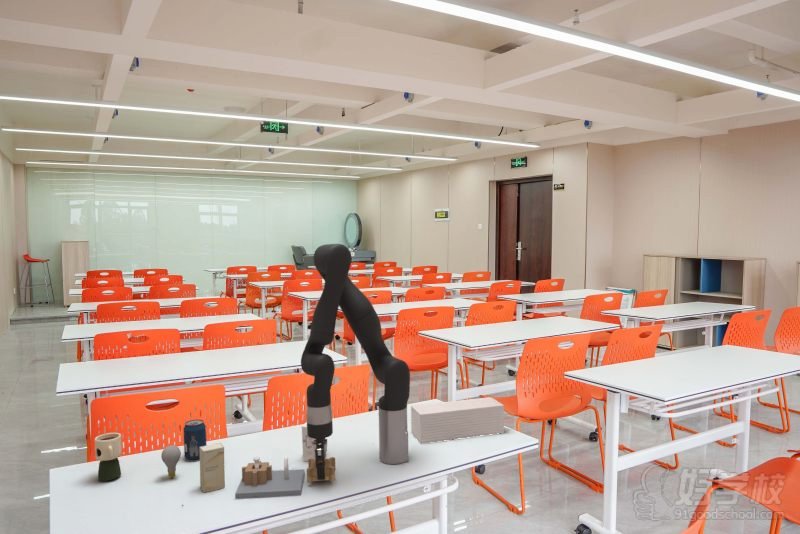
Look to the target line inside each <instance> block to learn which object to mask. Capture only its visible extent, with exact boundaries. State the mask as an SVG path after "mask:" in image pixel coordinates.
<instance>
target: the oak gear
mask: <svg viewBox="0 0 800 534" xmlns="http://www.w3.org/2000/svg"><path fill="white" fill-rule="evenodd" d="M318 463H323V461H318ZM315 465H316V459H311V458H310V459H308V462H307V466H308V467H307V468H306V483H308V484H311V483H313V482H319V481H321V482H322V481H331V482H335V481H336V470H337V469H336V457H334V456H331V457H329V458H325V479H324V480H318V479H317V468H316V467H315Z"/></svg>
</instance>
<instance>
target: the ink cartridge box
mask: <svg viewBox="0 0 800 534" xmlns="http://www.w3.org/2000/svg"><path fill="white" fill-rule="evenodd" d="M301 435H302V436H301V437H302V438H301V439H302V441H301V442H302V461H303V462H307V463H308V459H310V458H311V459H315V458H314V448H313V443H314V440H316V439H314V438H310V437H309V436H308V435H307V421H306V422H305V423H304V424H303V425H302V426H301Z"/></svg>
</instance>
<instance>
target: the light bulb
mask: <svg viewBox="0 0 800 534" xmlns="http://www.w3.org/2000/svg"><path fill="white" fill-rule="evenodd" d="M181 456H182V452H181V449H180V447H178V446H177V445H172V444H171V445H168V446H166V447H164V449H162V451H161V456H160V458H161V460H162V462H163V463H164V464H165V466H166V467H167V474H168V476H167V477H168V478H169V479H174V478H175V477H176V470H177V468H176V467H177V465H178V463H179V461H180V459H181Z"/></svg>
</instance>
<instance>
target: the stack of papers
mask: <svg viewBox="0 0 800 534" xmlns="http://www.w3.org/2000/svg"><path fill="white" fill-rule="evenodd" d="M504 407H505V405H504V404H502V403H501V402H499V401H497V400H496V399H495V398H494V397H492V396H488V397H487V396H486V397H479V398H470V399H461V400H460V399H459V400H451V401H442V402H432V403H422V404H413V405H412V404H411V405H410V423H411V424H410V431H411V432H410V434H411V433H412V434H411V435H412V436H413V437H414V438H416V439H417V440H418V441H417V440H416V441H417V442H418V443H419V444H420V445H424V444H423V443H427V444H431V443H430V442H435V443H438V442H437V441H442V442H445V441H444V440H450V441H452V440H451V439H458V438H466V439H468V438H467V437H473V436H480V435H489V434H497V433H504V434H505V427H504V426H505V409H504ZM497 435H498V434H497ZM489 436H490V435H489ZM458 440H459V439H458Z"/></svg>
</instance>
